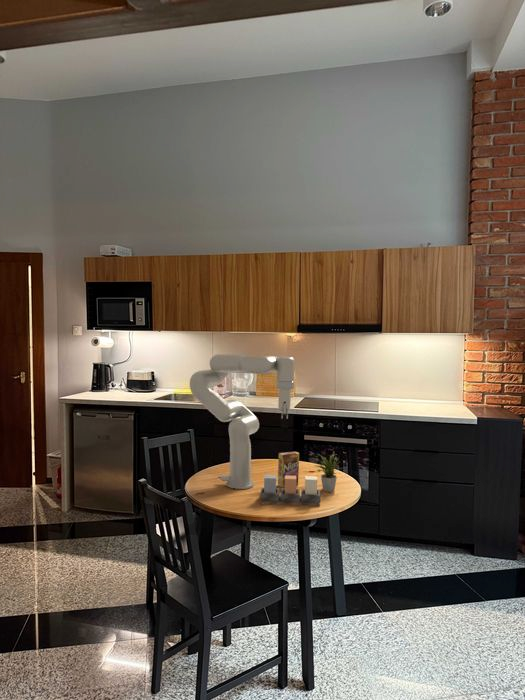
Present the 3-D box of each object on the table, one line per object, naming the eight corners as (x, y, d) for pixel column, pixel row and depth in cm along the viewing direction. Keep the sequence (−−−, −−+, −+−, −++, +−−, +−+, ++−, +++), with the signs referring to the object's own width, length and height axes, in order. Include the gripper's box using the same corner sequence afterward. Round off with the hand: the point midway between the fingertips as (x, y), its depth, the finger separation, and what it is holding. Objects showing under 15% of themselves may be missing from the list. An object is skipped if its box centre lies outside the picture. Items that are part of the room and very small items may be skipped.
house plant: (316, 482, 235) (316, 448, 235) (345, 486, 231) (346, 450, 231) (309, 491, 222) (310, 455, 221) (340, 495, 218) (341, 458, 217)
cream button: (305, 496, 207) (305, 479, 206) (304, 492, 211) (305, 476, 211) (316, 496, 206) (317, 479, 206) (316, 492, 211) (316, 476, 211)
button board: (260, 504, 205) (260, 494, 205) (261, 496, 215) (261, 486, 215) (320, 506, 204) (320, 496, 204) (319, 498, 214) (319, 488, 214)
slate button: (264, 494, 208) (264, 478, 207) (264, 491, 212) (264, 474, 212) (275, 495, 207) (275, 478, 207) (275, 491, 212) (276, 475, 212)
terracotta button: (284, 495, 207) (284, 478, 207) (284, 491, 212) (284, 475, 212) (296, 495, 207) (296, 479, 207) (296, 492, 212) (296, 475, 211)
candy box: (281, 488, 227) (282, 454, 226) (277, 485, 231) (277, 452, 230) (298, 485, 230) (299, 453, 230) (294, 483, 234) (294, 450, 234)
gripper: (277, 383, 227) (276, 423, 228) (276, 387, 211) (275, 430, 211) (293, 383, 227) (293, 423, 228) (293, 387, 210) (293, 430, 211)
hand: (284, 426), depth 220 cm, fingers open, 3 cm apart
